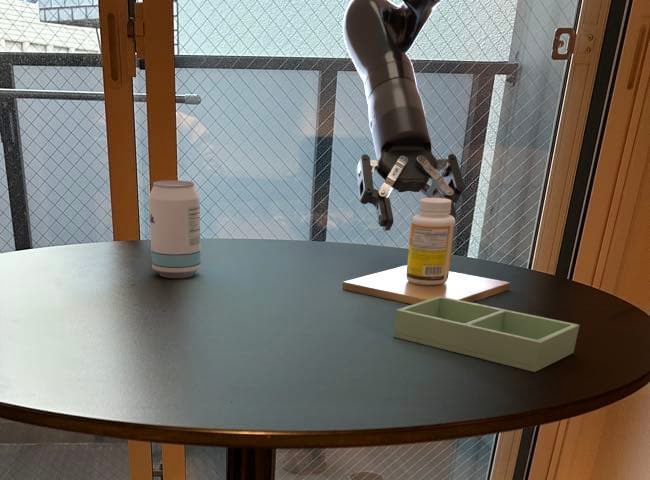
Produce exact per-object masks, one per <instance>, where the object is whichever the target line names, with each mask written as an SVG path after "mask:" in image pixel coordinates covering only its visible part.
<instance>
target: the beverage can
mask: <svg viewBox="0 0 650 480" xmlns="http://www.w3.org/2000/svg"><path fill="white" fill-rule="evenodd" d="M152 185H153V186H152V189H151V191H150V193H149V195H148V208H149V209H148V210H149V213H148V214H149V230H150V231H149V233H150V250H151V253H150V255H151V268H152V269H153V270H154V271H155V272H157V273H158V274H159V276H160V277H163V278H167V279H186V278H190V277H193V276H194V275H195V274H196V272H198V271H199V270H200V269H201V268H202V257H201V255H202V254H201V250H202V249H201V205H200V203H201V202H200V201H201V197H200V195H199V193H198V191H197V189H196V187H195V182H193V181H190V180H189V181H188V180H158V181H154V182H153V184H152Z"/></svg>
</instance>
